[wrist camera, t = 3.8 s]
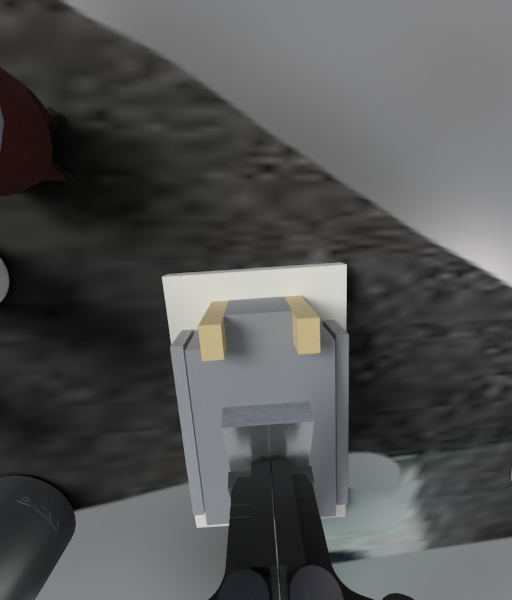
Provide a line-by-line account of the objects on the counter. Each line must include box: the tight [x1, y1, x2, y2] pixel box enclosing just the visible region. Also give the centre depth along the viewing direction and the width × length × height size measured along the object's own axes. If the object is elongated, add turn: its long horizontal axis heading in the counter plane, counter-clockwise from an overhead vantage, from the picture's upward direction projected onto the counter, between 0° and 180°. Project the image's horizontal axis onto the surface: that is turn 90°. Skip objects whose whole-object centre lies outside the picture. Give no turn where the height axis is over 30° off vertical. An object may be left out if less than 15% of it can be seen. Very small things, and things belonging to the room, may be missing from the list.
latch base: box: [162, 263, 349, 528], centre depth 21 cm, size 22×13×7 cm, turn 4°
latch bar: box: [221, 402, 314, 569], centre depth 15 cm, size 18×4×2 cm, turn 3°
